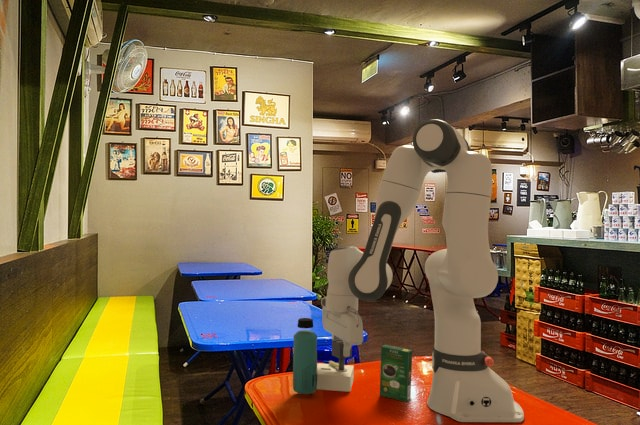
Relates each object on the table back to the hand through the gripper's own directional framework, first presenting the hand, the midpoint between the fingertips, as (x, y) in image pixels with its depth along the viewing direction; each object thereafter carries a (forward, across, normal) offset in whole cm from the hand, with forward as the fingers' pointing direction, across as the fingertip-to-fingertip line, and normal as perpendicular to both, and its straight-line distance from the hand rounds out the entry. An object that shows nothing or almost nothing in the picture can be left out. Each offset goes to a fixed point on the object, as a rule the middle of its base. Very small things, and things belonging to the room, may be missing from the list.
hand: (341, 353), depth 133 cm
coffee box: (+9, -14, -10) cm, 19 cm away
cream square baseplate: (+9, +2, +2) cm, 9 cm away
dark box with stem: (+5, +2, 0) cm, 5 cm away
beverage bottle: (+9, -4, +12) cm, 16 cm away
